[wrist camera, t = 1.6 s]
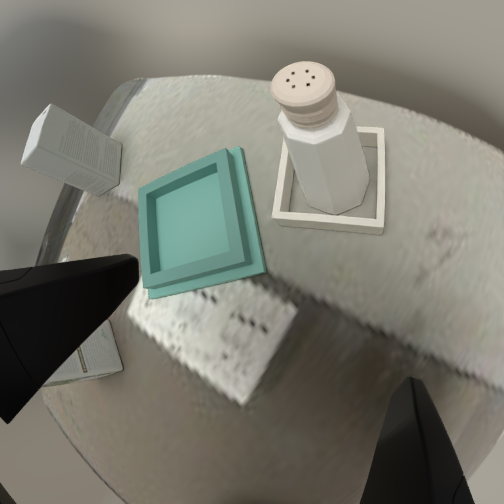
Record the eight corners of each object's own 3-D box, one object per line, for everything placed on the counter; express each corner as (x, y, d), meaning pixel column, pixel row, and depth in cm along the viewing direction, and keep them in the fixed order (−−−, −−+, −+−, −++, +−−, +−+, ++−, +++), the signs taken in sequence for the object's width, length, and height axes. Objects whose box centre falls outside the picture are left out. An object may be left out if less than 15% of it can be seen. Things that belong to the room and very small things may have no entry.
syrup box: (110, 318, 26) (-17, 310, 13) (125, 372, 24) (-5, 387, 11) (84, 333, 28) (-26, 329, 14) (97, 381, 26) (-14, 393, 12)
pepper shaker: (298, 217, 20) (234, 138, 10) (299, 153, 21) (245, 53, 11) (372, 215, 18) (375, 123, 8) (366, 149, 19) (354, 37, 9)
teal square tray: (266, 272, 21) (256, 269, 19) (153, 299, 24) (138, 298, 22) (242, 149, 23) (232, 137, 22) (146, 191, 27) (133, 185, 25)
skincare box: (101, 159, 32) (32, 122, 21) (123, 144, 31) (51, 100, 20) (97, 198, 30) (19, 165, 19) (120, 185, 29) (36, 145, 18)
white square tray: (381, 235, 18) (383, 227, 16) (279, 225, 21) (271, 218, 19) (382, 142, 19) (383, 128, 17) (292, 139, 22) (285, 126, 20)
